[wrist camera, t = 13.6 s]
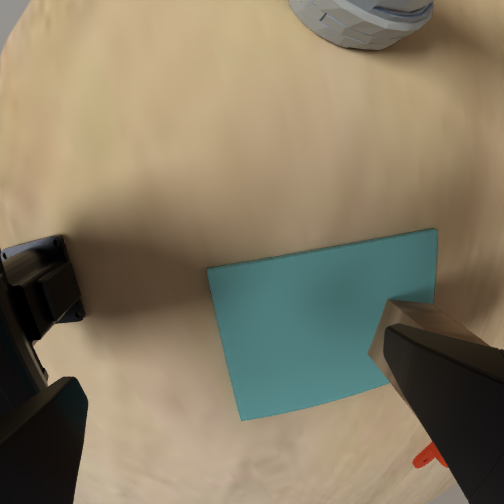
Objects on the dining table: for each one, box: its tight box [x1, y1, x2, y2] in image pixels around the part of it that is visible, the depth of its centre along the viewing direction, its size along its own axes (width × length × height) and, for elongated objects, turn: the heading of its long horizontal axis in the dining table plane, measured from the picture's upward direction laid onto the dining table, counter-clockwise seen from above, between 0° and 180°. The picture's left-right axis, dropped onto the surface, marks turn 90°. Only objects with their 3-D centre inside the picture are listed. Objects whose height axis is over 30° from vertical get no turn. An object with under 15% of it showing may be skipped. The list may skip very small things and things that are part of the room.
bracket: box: [413, 442, 449, 468], centre depth 29 cm, size 12×4×5 cm, turn 144°
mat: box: [207, 228, 437, 421], centre depth 22 cm, size 18×14×1 cm
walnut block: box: [367, 299, 491, 417], centre depth 17 cm, size 5×5×13 cm
